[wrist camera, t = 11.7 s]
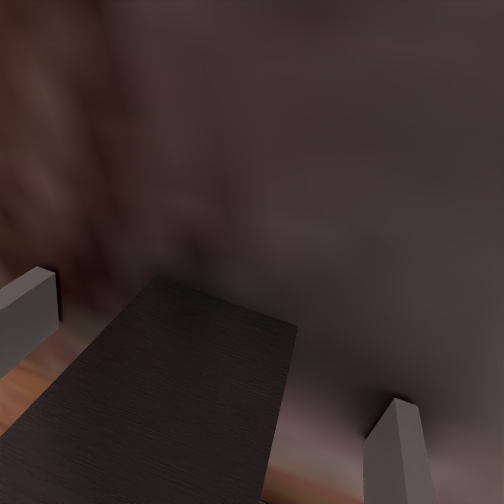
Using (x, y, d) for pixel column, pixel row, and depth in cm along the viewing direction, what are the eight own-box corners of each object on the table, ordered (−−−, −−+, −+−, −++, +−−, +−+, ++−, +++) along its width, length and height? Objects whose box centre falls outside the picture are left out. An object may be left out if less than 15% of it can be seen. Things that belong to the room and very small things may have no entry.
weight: (156, 275, 12) (-50, 489, 6) (298, 326, 11) (233, 620, 5) (145, 373, 14) (-7, 593, 8) (261, 419, 14) (188, 690, 8)
